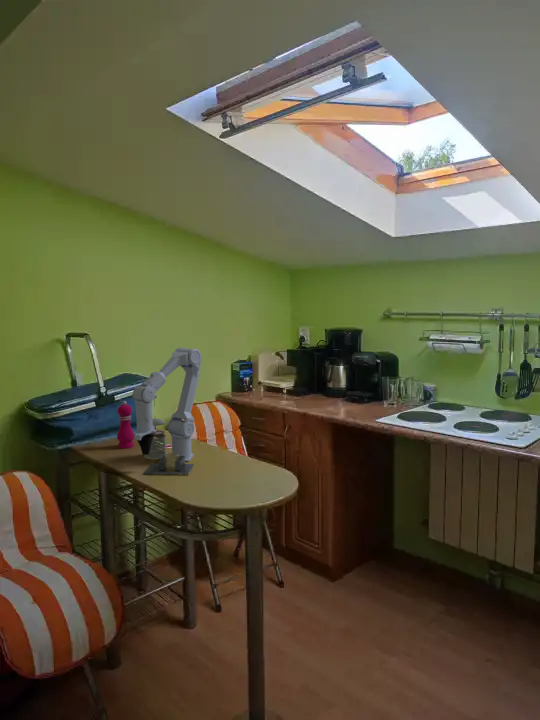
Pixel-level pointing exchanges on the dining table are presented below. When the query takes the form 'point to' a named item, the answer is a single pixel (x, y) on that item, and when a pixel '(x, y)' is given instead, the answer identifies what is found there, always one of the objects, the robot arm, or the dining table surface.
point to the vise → (179, 469)
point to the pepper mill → (125, 427)
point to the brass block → (171, 460)
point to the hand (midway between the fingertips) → (145, 454)
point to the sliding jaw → (162, 463)
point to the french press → (160, 437)
